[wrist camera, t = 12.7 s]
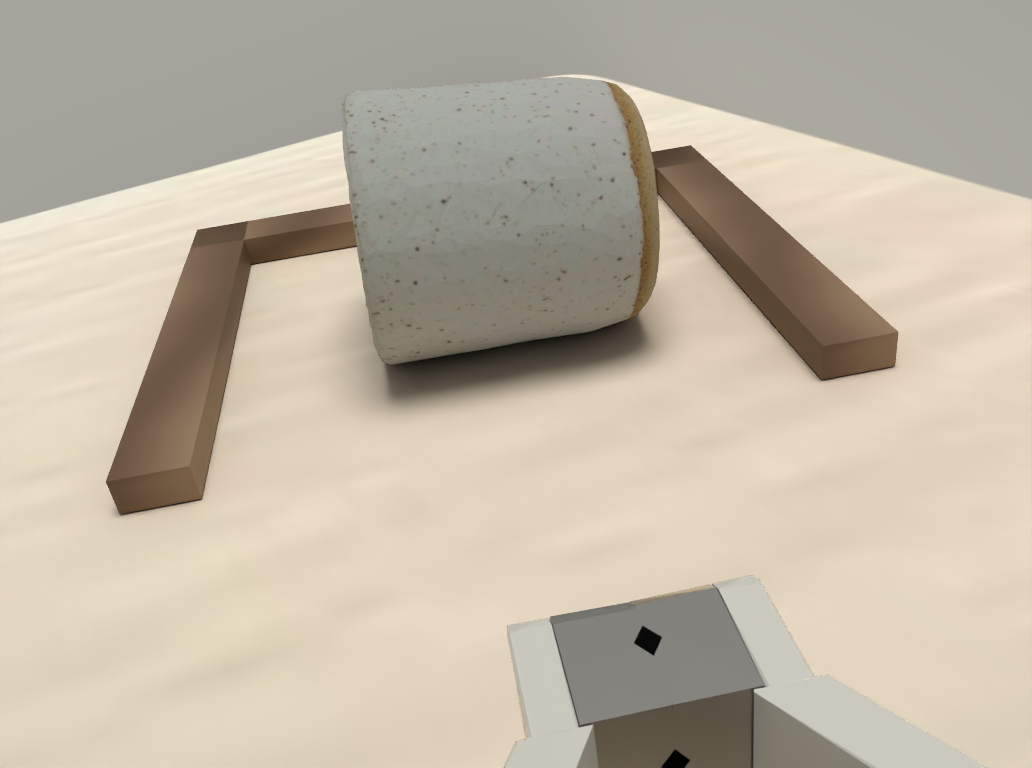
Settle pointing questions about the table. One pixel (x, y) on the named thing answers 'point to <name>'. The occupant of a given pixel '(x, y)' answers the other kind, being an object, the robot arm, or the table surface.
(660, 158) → the frame
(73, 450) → the table surface
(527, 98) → the ceramic mug
